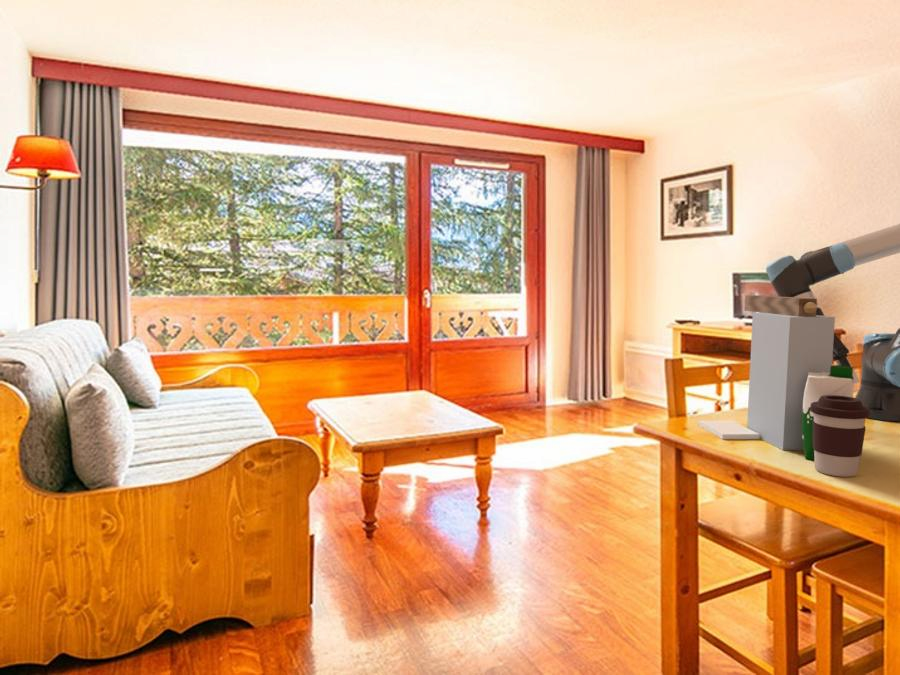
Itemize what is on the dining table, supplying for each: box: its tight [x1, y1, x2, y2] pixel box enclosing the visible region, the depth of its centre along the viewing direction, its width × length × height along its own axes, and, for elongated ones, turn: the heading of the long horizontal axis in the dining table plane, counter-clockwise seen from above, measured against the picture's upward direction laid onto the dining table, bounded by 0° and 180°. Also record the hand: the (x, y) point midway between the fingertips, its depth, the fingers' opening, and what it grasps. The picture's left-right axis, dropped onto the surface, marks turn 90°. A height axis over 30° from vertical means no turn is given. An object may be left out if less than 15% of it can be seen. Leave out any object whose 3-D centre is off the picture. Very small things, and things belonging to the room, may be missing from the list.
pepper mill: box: [744, 294, 818, 317], centre depth 147 cm, size 26×4×4 cm, turn 1°
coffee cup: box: [810, 395, 870, 478], centre depth 121 cm, size 10×10×15 cm
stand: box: [746, 312, 836, 451], centre depth 144 cm, size 16×10×30 cm, turn 1°
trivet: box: [697, 419, 761, 440], centre depth 153 cm, size 14×9×1 cm, turn 1°
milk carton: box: [802, 364, 854, 461], centre depth 131 cm, size 9×9×20 cm
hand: (843, 387), depth 155 cm, fingers open, 13 cm apart
